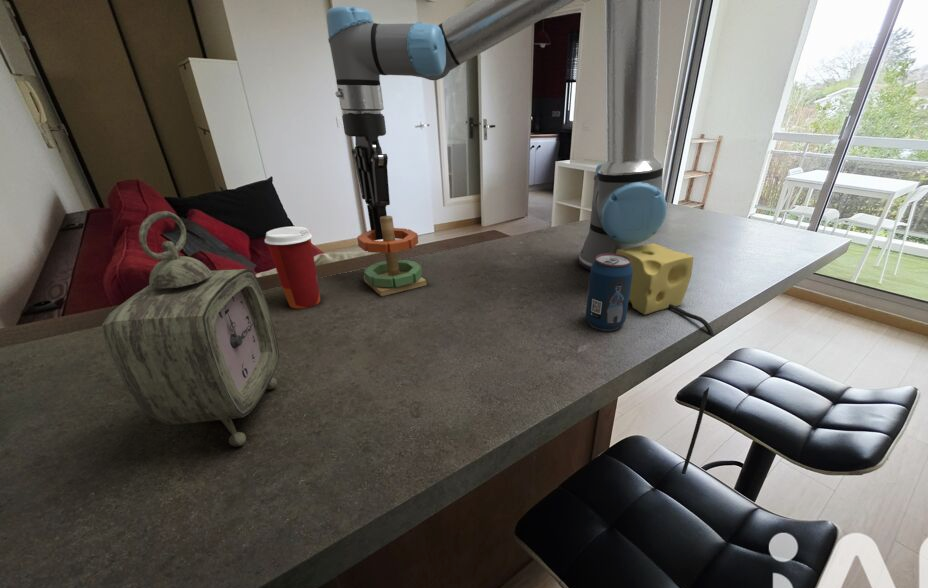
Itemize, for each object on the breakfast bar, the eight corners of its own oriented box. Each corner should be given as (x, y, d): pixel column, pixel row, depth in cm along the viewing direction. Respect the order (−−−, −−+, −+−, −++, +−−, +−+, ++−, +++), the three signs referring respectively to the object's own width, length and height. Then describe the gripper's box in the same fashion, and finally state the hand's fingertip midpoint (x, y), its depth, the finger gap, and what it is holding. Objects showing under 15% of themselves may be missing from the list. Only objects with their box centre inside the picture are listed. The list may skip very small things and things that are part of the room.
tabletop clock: (250, 456, 46) (160, 232, 34) (159, 466, 44) (31, 237, 32) (290, 379, 58) (234, 196, 46) (220, 385, 57) (144, 199, 45)
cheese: (644, 316, 76) (653, 264, 71) (607, 294, 84) (613, 247, 80) (685, 305, 80) (696, 256, 76) (645, 286, 89) (653, 240, 84)
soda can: (599, 310, 78) (607, 249, 72) (632, 323, 74) (642, 259, 68) (577, 322, 74) (583, 258, 68) (610, 337, 69) (619, 269, 64)
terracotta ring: (426, 246, 84) (425, 237, 83) (372, 256, 78) (370, 247, 77) (403, 233, 92) (402, 225, 91) (352, 241, 86) (350, 233, 85)
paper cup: (333, 295, 83) (318, 226, 77) (313, 312, 77) (295, 238, 70) (296, 293, 84) (278, 224, 77) (273, 310, 77) (251, 236, 71)
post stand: (426, 285, 88) (420, 218, 81) (381, 296, 83) (370, 226, 76) (407, 271, 95) (399, 209, 88) (364, 281, 90) (352, 215, 83)
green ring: (429, 279, 87) (429, 271, 86) (378, 291, 81) (376, 283, 81) (407, 264, 95) (406, 256, 94) (359, 274, 89) (357, 266, 88)
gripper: (330, 111, 80) (351, 231, 91) (355, 113, 70) (376, 248, 81) (368, 111, 84) (384, 226, 95) (398, 113, 74) (411, 242, 85)
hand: (380, 236), depth 88 cm, fingers closed on terracotta ring, 2 cm apart
